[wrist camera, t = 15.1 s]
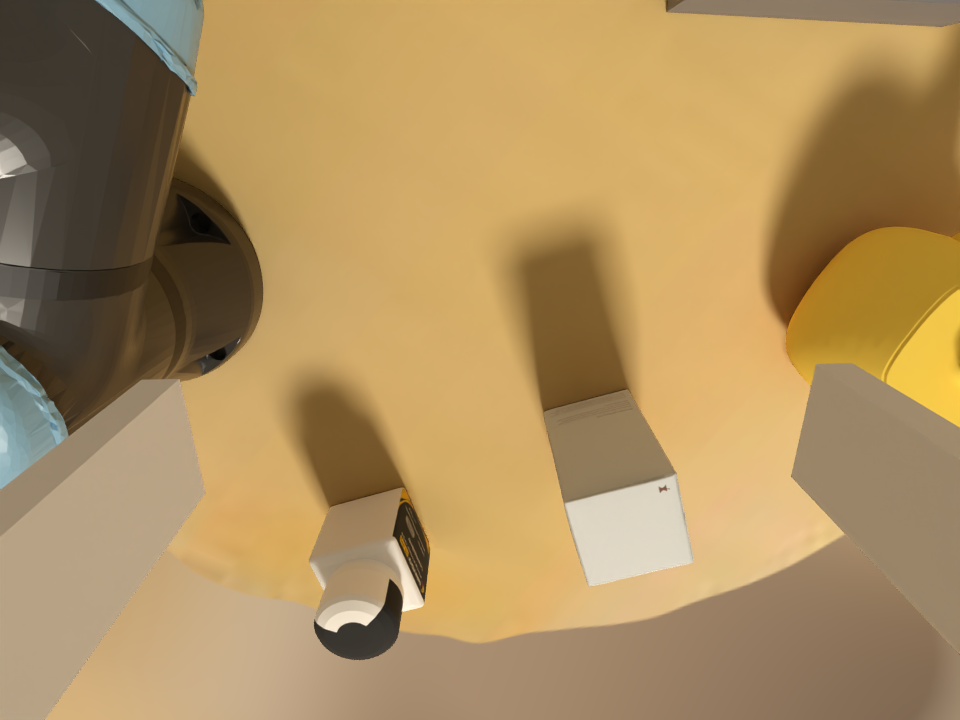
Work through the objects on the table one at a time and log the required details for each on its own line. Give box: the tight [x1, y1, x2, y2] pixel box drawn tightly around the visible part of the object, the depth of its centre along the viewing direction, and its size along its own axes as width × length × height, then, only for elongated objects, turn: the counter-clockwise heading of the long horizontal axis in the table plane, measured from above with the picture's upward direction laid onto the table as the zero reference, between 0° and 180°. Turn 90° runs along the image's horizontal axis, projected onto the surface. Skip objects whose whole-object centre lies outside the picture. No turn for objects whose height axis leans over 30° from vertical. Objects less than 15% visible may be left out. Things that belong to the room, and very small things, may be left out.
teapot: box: [786, 226, 960, 427], centre depth 38 cm, size 14×20×13 cm
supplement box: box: [543, 389, 694, 587], centre depth 42 cm, size 7×7×13 cm
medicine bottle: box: [309, 487, 430, 660], centre depth 46 cm, size 7×7×12 cm
